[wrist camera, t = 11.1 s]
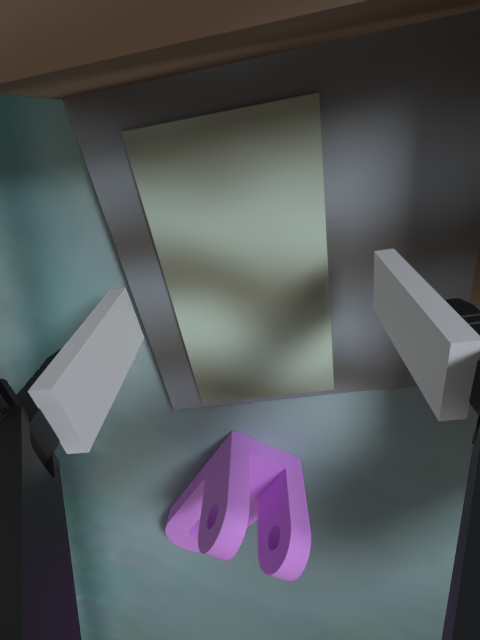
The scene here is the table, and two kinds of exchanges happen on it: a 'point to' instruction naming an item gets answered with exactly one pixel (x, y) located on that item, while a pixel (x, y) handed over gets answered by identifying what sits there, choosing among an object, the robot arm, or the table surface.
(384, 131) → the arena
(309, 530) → the bracket
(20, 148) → the table surface
